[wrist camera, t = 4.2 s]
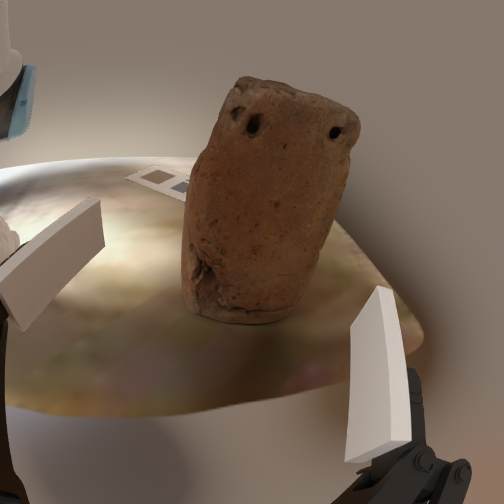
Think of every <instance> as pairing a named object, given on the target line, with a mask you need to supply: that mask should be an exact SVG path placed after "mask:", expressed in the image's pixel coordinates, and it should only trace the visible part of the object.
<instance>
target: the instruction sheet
mask: <svg viewBox="0 0 504 504" xmlns="http://www.w3.org/2000/svg"><path fill="white" fill-rule="evenodd" d="M125 179H127V180H129V181H132V182H135V183H137V184H140V185H142V186H145V187H148V188H150V189H153V190H155V191H158V192H161V193H163V194H166V195H168V196H171V197H173V198H176V199H178V200H181V201H184V202H186V191H187V187H188V186H189V180H190V176H187V175H184V174H181V173H178V172H175V171H172V170H169V169H166V168H163V167H160V166H157V165H152V166H150V167H147V168H145V169H143V170H140V171H138V172H136V173H133V174H131V175H129V176H127V177H125Z"/></svg>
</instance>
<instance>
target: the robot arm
mask: <svg viewBox="0 0 504 504" xmlns="http://www.w3.org/2000/svg"><path fill="white" fill-rule="evenodd" d="M35 79H36V67H35V65H33V64H26V66H23V62H22V56H21V54H20V53H19V52H18V51H16V50H12V49H11V47H10V38H9V25H8V0H0V142H4V141H9V140H10V139H12V138H16V137H19V136H21V135H23V134H24V133H25V132H26V131H27V129H28V127H29V124H30V119H31V112H32V106H33V98H34V90H35V81H36V80H35ZM104 247H105V242H104V235H103V227H102V218H101V208H100V200H96V199H93V198H90V197H89V198H87V199H86V200H84V201H83V202H81V203H80V204H79V205H77V206H76V207H74V208H73V209H71V210H70V211H69V212H67V213H66V214H64V215H63V216H62V217H60V218H59V219H57V220H56V221H55V222H53V223H52V224H51V225H49V226H48V227H47V228H46V229H44V230H43V231H42V232H40V233H39V234H38V235H37V236H35V237H34V238H33V239H32V240H30V241H28V242H26V243H24V244H23V245H21V246H20V247H19V248H18V249H17V250H15V252H13V253H12V254H11V255H10V256H9V258H6V259H5V260H4V261H3V262H2V263H1V264H0V504H29V501H28V497H27V494H26V490H25V488H24V485H23V483H22V481H21V480H20V479H19V477H18V476H17V475H16V473H15V472H14V469H13V465H12V459H11V454H10V448H9V442H8V434H7V424H6V412H5V354H6V341H7V332H8V321H7V318H8V316H9V317H10V318H11V320H12V322H13V323H14V325H15V326H16V327H17V328H19V329H20V330H21V331H22V332H23V333H24V332H25V331H26V329H27V328H28V327H29V326H30V325H31V323H32V322H33V321H34V320H35V319H36V318H37V316H38V315H39V314H40V313H41V312H42V311H43V309H44V308H45V307H46V306H47V305H48V304H49V303H50V302H51V301H52V299H53V298H54V297H55V296H56V295H57V294H58V293H59V292H60V291H61V290H62V289H63V288H64V287H65V285H66V284H67V283H68V282H69V281H70V280H71V279H72V278H73V277H74V276H75V275H76V274H77V273H78V272H79V271H80V270H81V269H82V268H83V267H84V266H85V265H86V264H87V263H88V262H89V261H90V260H91V259H92V258H93V257H94V256H95V255H96V254H97V253H99V252H100V251H101V250H102V249H103V248H104ZM350 332H351V369H350V399H349V400H350V401H349V416H348V429H347V441H346V451H345V459H344V462H353V463H364V462H366V461H369V460H371V459H372V465H371V466H370V467H367V468H364V469H361V470H359V471H358V472H357V475H358V474H361V473H363V474H362V475H361V476H360V477H359V478H358V479H357V480H356V481H355V482H354V483H353V484H352V485H351V486H350V487H349V488H348V489H347V490H345V492H343V493H342V494H341V495H340V496H339V497H338V498H337V499H336V500H335V501H333V502H332V503H331V504H427V502H428V500H430V501H429V503H428V504H463V501H464V498H465V495H466V492H467V489H468V487H469V484H470V480H471V475H472V470H471V466H470V463H469V462H468V461H467V460H466V459H459V460H457V461H454V462H452V463H450V462H447V461H443V460H441V459H439V458H436V456H435V453H434V451H433V450H432V448H431V447H429V446H427V445H426V439H425V421H424V409H423V405H422V404H423V398H422V395H421V394H422V390H421V382H420V379H419V377H418V374H417V372H416V370H415V369H413V368H408V367H406V362H405V355H404V348H403V342H402V336H401V330H400V324H399V319H398V314H397V309H396V304H395V300H394V295H393V291H392V290H391V289H388V288H385V287H382V286H379V285H377V287H376V288H375V290H374V291H373V293H372V295H371V296H370V298H369V299H368V301H367V302H366V304H365V306H364V307H363V309H362V310H361V312H360V313H359V315H358V316H357V318H356V319H355V321H354V322H353V323H352V325H351V326H350Z"/></svg>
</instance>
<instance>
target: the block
mask: <svg viewBox="0 0 504 504" xmlns="http://www.w3.org/2000/svg"><path fill="white" fill-rule="evenodd" d="M360 129H361V125H360V121H359V117H358V116H357V115H356V114H355V113H354V112H353V111H352V110H350V109H349V108H348V107H345V106H343V105H341V104H339V103H337V102H335V101H332V100H330V99H328V98H325V97H323V96H321V95H318V94H313V93H307V92H303V91H300V90H297V89H294V88H292V87H291V86H289V85H287V84H285V83H281V82H277V81H271V80H261V79H257V78H253V77H249V76H247V77H246V76H244V77H241V78H239V79H238V80H237V81H236V83H235V85H234V88H233V89H230V91H229V93H228V95H227V97H226V99H225V102H224V104H223V106H222V108H221V111H220V113H219V117H218V121H217V122H216V124H215V126H214V128H213V131H212V134H211V137H210V140H209V143H208V145H207V147H206V148H205V149H204V150H203V151H202V153H201V154H200V155H199V157H198V159H197V161H196V163H195V164H194V166H193V168H192V172H191V175H190V180H189V186H188V191H187V199H186V206H185V216H184V226H183V236H182V254H181V277H182V289H183V295H184V299H185V303H186V306H187V308H188V309H189V311H190V312H192V313H194V314H198V315H204V316H205V317H209V318H212V319H215V320H218V321H222V322H230V323H245V324H262V323H267V322H272V321H278V320H281V319H283V318H285V317H286V316H288V315H289V314H290V313H291V311H292V310H293V308H294V307H295V305H296V304H297V302H298V301H299V299H300V298H301V296H302V294H303V292H304V290H305V288H306V286H307V284H308V282H309V280H310V278H311V276H312V274H313V272H314V270H315V267H316V265H317V262H318V259H319V251H320V250H321V248H322V247H323V245H324V243H325V240H326V238H327V236H328V234H329V231H330V229H331V226H332V223H333V221H334V218H335V216H336V213H337V210H338V207H339V204H340V200H341V197H342V194H343V191H344V188H345V185H346V180H347V177H348V174H349V167H350V156H349V154H350V151H351V149H352V147H353V146H354V145H355V144H356V141H357V140H358V138H359V133H360Z"/></svg>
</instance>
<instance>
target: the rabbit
mask: <svg viewBox="0 0 504 504" xmlns="http://www.w3.org/2000/svg"><path fill="white" fill-rule="evenodd" d="M19 246H20V239H19V235H18V234H17V232H16V231H10V229H9V226H8V224H7V223H6V222H5V220H4V219H3V218H2V217H1V216H0V264H1V263H2V262H3V261H4V260H5V259H6V258H9V256H10V255H11V254H12V253H13V252H15V250H17V249H18V248H19Z"/></svg>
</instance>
